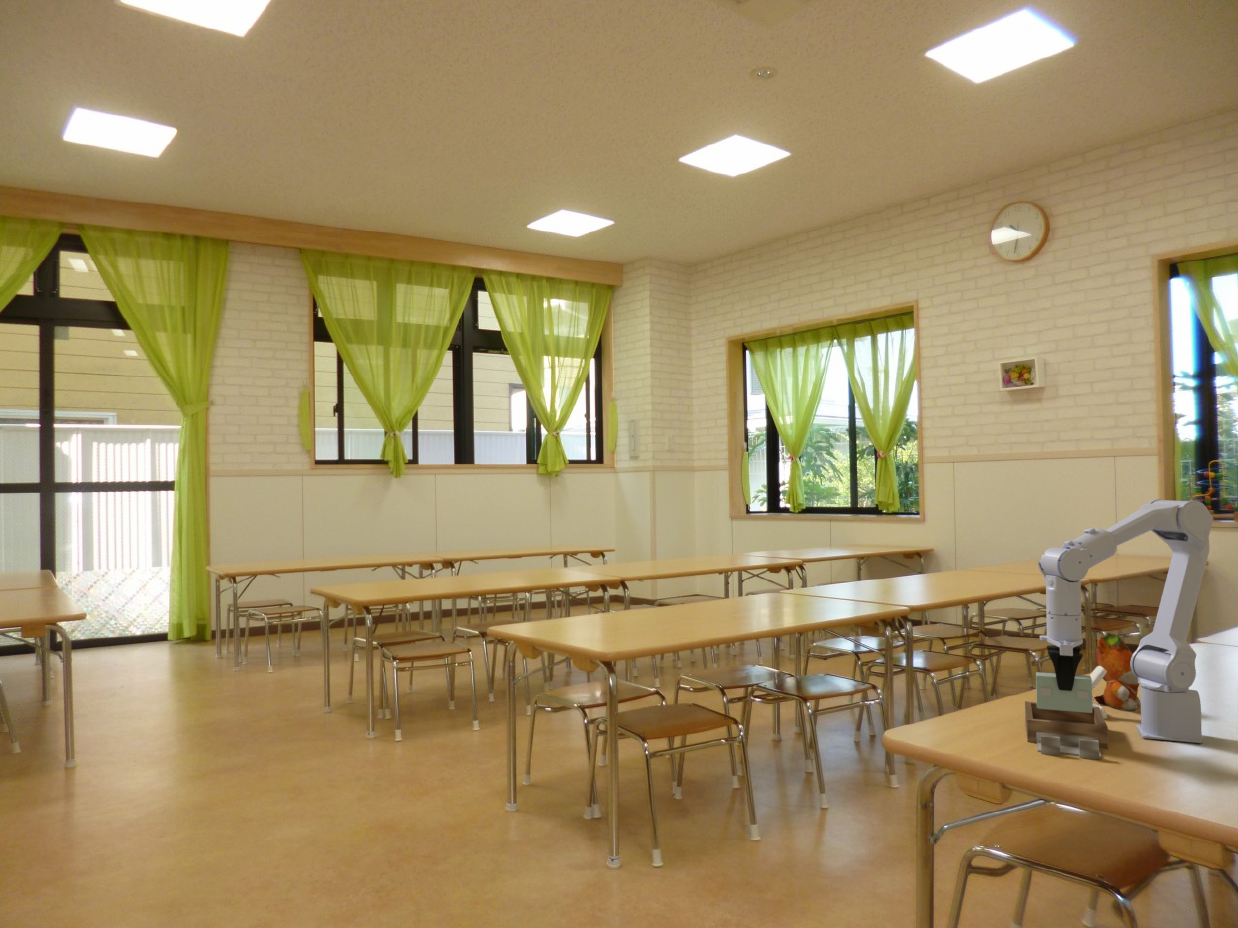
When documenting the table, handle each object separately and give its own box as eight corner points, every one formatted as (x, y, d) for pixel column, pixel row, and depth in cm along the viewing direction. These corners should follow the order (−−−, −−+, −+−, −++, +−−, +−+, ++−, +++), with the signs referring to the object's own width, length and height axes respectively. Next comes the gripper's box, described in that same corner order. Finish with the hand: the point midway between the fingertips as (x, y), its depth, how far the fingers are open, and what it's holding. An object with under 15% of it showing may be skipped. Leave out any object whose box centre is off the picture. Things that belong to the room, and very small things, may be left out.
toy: (1132, 714, 180) (1130, 640, 180) (1085, 705, 186) (1084, 634, 186) (1151, 704, 187) (1150, 633, 187) (1106, 696, 194) (1105, 627, 194)
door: (1091, 708, 161) (1090, 675, 161) (1092, 713, 158) (1091, 679, 158) (1036, 704, 165) (1035, 672, 165) (1037, 708, 162) (1036, 675, 162)
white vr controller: (1139, 693, 176) (1114, 675, 175) (1101, 739, 177) (1076, 722, 176) (1115, 676, 183) (1091, 659, 182) (1078, 721, 185) (1054, 704, 183)
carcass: (1099, 727, 170) (1099, 707, 170) (1112, 760, 151) (1111, 737, 151) (1025, 721, 175) (1024, 701, 175) (1028, 752, 156) (1028, 729, 157)
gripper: (1038, 606, 170) (1039, 677, 170) (1040, 618, 157) (1041, 694, 157) (1079, 608, 167) (1080, 680, 167) (1085, 620, 154) (1086, 698, 154)
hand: (1064, 687), depth 162 cm, fingers closed on door, 3 cm apart
